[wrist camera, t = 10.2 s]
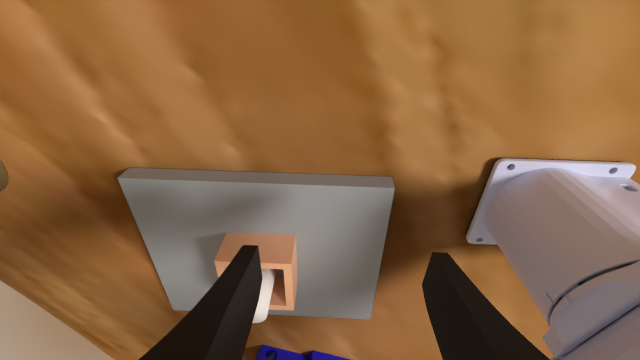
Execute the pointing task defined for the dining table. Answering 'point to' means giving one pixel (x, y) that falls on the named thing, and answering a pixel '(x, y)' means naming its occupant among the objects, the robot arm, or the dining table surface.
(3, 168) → the cork
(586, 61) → the dining table surface
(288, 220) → the post board
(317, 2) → the dining table surface
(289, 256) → the collar
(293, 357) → the cable clip
